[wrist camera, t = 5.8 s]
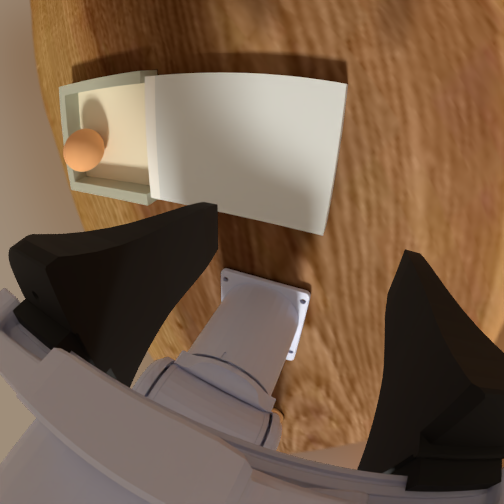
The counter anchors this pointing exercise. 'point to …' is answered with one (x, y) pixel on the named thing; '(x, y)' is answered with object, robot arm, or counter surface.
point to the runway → (246, 144)
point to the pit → (111, 134)
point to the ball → (83, 150)
